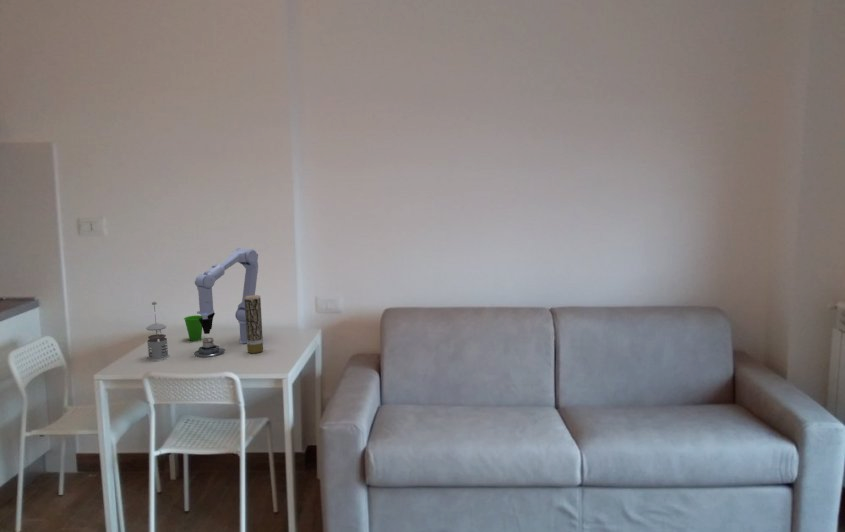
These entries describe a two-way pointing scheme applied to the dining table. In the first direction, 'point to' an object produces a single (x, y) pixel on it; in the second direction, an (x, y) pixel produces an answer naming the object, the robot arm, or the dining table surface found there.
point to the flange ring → (209, 352)
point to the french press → (157, 348)
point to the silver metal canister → (208, 343)
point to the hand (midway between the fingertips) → (208, 331)
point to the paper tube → (253, 324)
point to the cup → (194, 327)
